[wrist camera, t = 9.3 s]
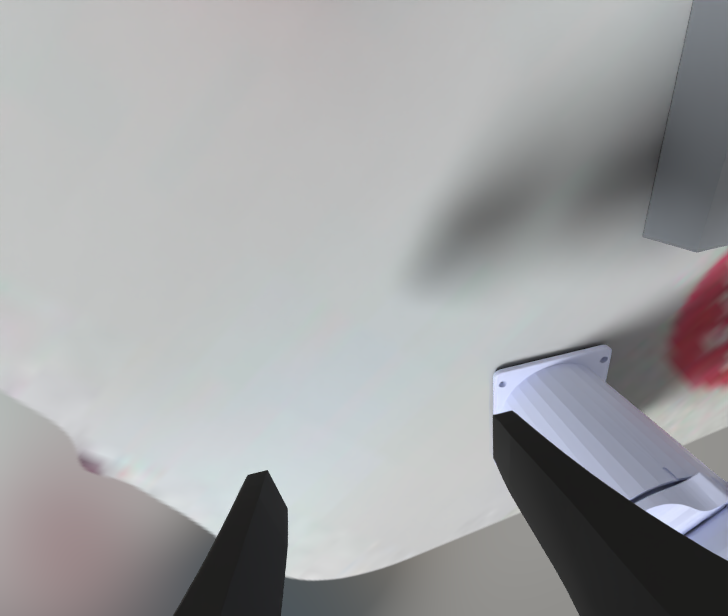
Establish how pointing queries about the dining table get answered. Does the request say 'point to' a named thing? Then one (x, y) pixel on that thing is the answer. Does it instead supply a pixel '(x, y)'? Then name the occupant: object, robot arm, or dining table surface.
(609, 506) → the robot arm
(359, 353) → the dining table surface
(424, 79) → the dining table surface
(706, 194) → the slate base
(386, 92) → the dining table surface
